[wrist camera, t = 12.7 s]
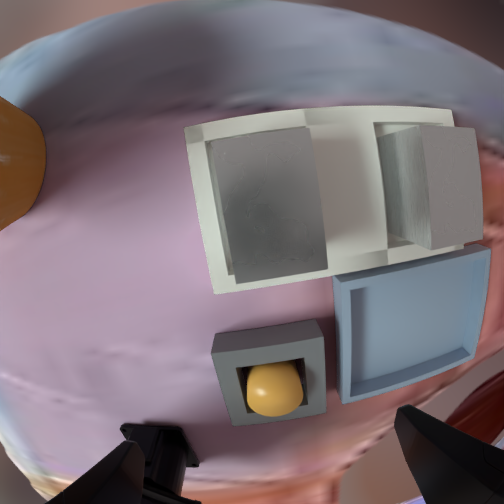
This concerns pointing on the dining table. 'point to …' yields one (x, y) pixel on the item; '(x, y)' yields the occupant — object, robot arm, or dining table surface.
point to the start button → (274, 388)
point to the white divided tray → (330, 185)
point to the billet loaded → (271, 204)
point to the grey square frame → (269, 351)
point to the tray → (408, 320)
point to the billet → (433, 185)
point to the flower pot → (19, 162)
